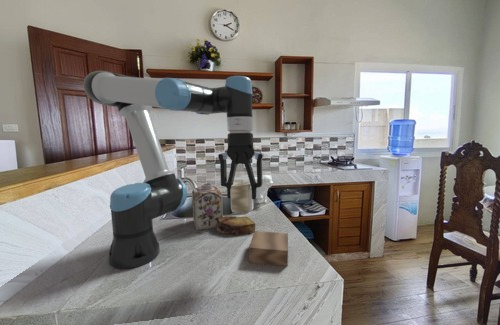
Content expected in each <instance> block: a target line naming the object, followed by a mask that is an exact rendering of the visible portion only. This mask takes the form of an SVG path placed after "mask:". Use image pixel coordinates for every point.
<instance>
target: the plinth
mask: <svg viewBox="0 0 500 325" xmlns="http://www.w3.org/2000/svg"><path fill="white" fill-rule="evenodd" d="M288 261H289V234H288V233H287V232H276V231H275V232H271V231H258V230H255V231H254V232H253V235H252V237H251V240H250V243H249V247H248V262H249V263H252V264H254V263H255V264H263V265H271V266H272V265H275V266H282V267H283V266H284V267H288V263H289V262H288Z"/></svg>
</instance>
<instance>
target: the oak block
mask: <svg viewBox="0 0 500 325" xmlns="http://www.w3.org/2000/svg"><path fill="white" fill-rule="evenodd" d="M250 188H251V185H250V183H249V182H239V181H238V182H236V181H235V182H233V185H232V186H231V196H232V210H231V213H237V214H239V213H240V214H249V213H250V211H249V189H250Z"/></svg>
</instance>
